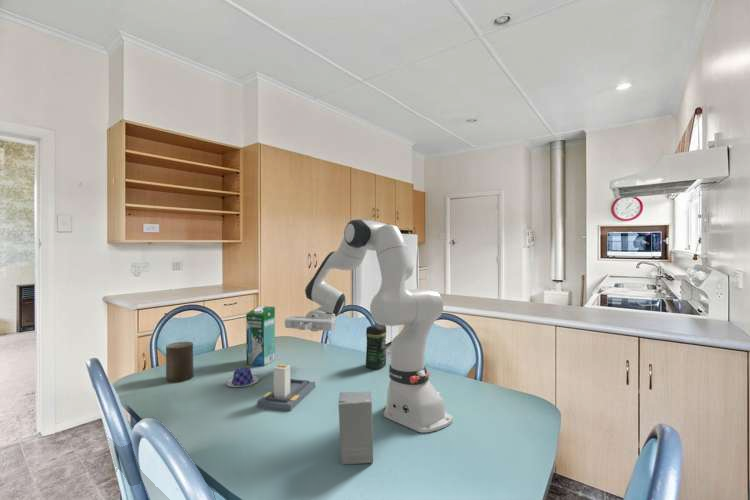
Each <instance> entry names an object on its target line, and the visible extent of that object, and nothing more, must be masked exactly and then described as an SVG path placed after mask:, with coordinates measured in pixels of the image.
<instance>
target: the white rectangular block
mask: <svg viewBox="0 0 750 500" xmlns="http://www.w3.org/2000/svg"><path fill="white" fill-rule="evenodd" d="M290 379H291V364H282V363H281V364H280V363H279V364H277V365H276V366H275V367H273V389H274V397H277V398H285V397H286V396H288V395H289V394H290Z"/></svg>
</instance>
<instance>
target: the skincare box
mask: <svg viewBox="0 0 750 500" xmlns="http://www.w3.org/2000/svg"><path fill="white" fill-rule="evenodd" d="M372 405H373V402H372V392H371V390H368V391H354V392H340V393H339V398H338V427H339V453H340V454H339V455H340V464H341V466H343V465H357V464H361V465H362V464H374V439H373V437H374V435H373V406H372Z"/></svg>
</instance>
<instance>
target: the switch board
mask: <svg viewBox="0 0 750 500" xmlns="http://www.w3.org/2000/svg"><path fill="white" fill-rule="evenodd" d="M315 388H316V381H310V380H305V379H296V378H290V394H289V395H288V396H286V397H285V398H277V397H274V388H273V389H271V390H270V391H268V392H267V393H265V394H264V395H263V396H262V397H261V398H259V399H258V400H257V402H256V403H257V404H256V405H257V408H264V409H272V410H279V411H287V412H292V410H293V409H294V408H295V407H297V405H298V404H300V402H302V401H303V400H304V399H305V398H306V397H307V396H308V395H309V394H310V393H311V392H312V391H313V390H314V389H315Z"/></svg>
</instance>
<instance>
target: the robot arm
mask: <svg viewBox="0 0 750 500" xmlns="http://www.w3.org/2000/svg"><path fill="white" fill-rule="evenodd" d="M343 232H344V233H343V235H344V236H343V238H342V240H341V242H340V244H339V247H338V248H337V249H336V250H335V251H331V252H329V253H328V254H327V255H326V257H325V258H324V260H323V261H322V262H321V264H320V266H319V267H318V269H317V270H316V272H315V273H314V275H313V277H312V278H311V279H310V281H309V282H308V283H307V285H306V287H305V289H304V293H305V296H306V299H308V300H310V301H312V302H314V303H316V304H317V305H319V307H318V308H315V309H313V310H310V311H309V312H308V313H307V314H306V315H305V316H300V315H299V316H298V315H297V316H295V315H294V316H289V317H288V318H286V319H284V327H285V328H286V329H298V330H299V331H300V330H301V331H307V330H309V331H311V332H315V333H316V332H319V331H320V332H321V331H328V332H329V331H333V330H335V329H336V322H337V320H336V318H337V316H339V315H340V314H342V311H343V309H344V307H345V306H346V296H345V294H344V292H342V291H341V290H339V289H337V288H335V287H334V286H332V285H330V284H328V283H327V282H326V281H325V278H326V277H327V275H328V273H329V272H330V270H331V269H336V270H341V271H354V270H356V269H358V267H361V264H362V262H363V261H364V259H365V256H366V254H367V252H368V250H369V251H375V254H376V258H377V262H378V265H379V270H380V276H381V284H380V287H379V290H378V291H377V293H376V294H375V295H374V297H372V299H371V303H370V306H369V310H370V315H371V318H372V319H373V321H374V322H375V324H376V323H377V324H379V325H385V326H386V327H387V326H389V327H394V326H403V327H402V329H401V330H400V332H399V333H398V334H396V336H394V337H393V339H392V340H391V344H390V364H389V367H388V373H389V374H388V376H389V378H390V380H389V384H388V387H387V392H386V405H385V410H384V411H383V417H384V418H386V419H388V420H391V421H393V422H395V423H398V424H399V425H402V426H404V427H406V428H409V429H411V430H413V431H415V432H418V433H424V434H425V433H431V432H435V431H439V430H441V429H443V428H446V427H448V426H450V424H451V423H453V420H454V418H453V415H451V414H450V413H449V412H447V411H446V409H445V408H446V407H445V402H444V398H443V397H442V395H441V393H440V392H439V391H437V390H436V388H435V386H434V385H433V384H432V382H430V380H429V379H430V378H429V377H431V376H432V375H431V374H432V373H431V372H428V370H427V367H426V365H425V359H426V356H425V355H426V343H427V339H428V336H429V333H430V331H431V328H432V326H433V325H434V323H435V322H436V321H437V320H438V319H439V318H440V317H441V316H442V313H443V311H444V301H443V299H442V298H443V297H442V296H441V295H440V293H439V292H437V291H436V290H432V289H427V288H417V289H416V288H415V289H407V287H406V281H407V280H409V279H410V278H411V277H412V275H413V273H414V265H413V262H412V259H411V255H410V251H409V248H408V245H407V242H406V241H405V239H404V236H403V234H402V232H401V230H400V229H399V228H398V226H396V225H394V224H390V223H384V222H380V221H375V220H362V219H353V220H349V222H347V224H346V225H345V228H344V231H343Z"/></svg>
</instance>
